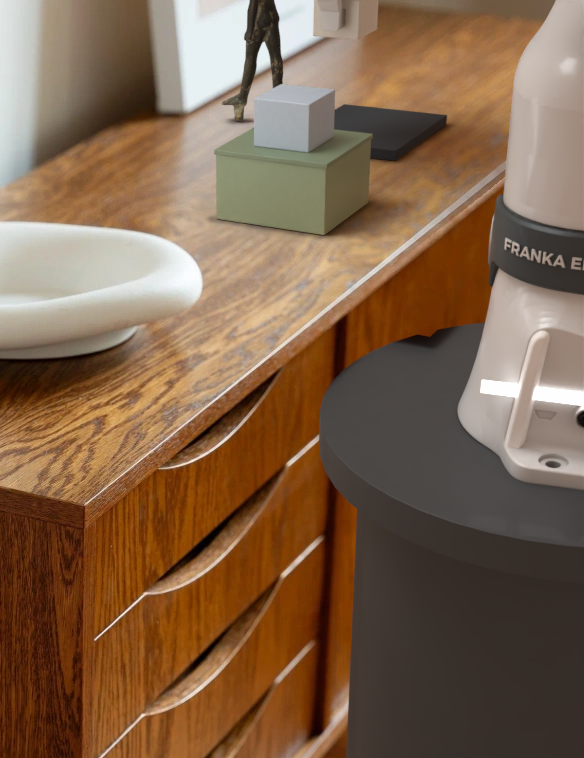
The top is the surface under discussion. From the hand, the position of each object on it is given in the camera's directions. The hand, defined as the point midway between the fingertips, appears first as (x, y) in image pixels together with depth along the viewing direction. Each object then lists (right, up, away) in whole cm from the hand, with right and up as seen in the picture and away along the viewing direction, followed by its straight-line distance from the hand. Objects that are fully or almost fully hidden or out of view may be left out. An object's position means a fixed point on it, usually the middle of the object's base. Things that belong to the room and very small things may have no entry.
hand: (346, 22), depth 138 cm
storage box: (-6, -19, -10) cm, 23 cm away
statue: (-7, -5, +15) cm, 17 cm away
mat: (+3, -9, +8) cm, 12 cm away
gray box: (-7, -14, -13) cm, 21 cm away
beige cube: (0, -1, 0) cm, 1 cm away
